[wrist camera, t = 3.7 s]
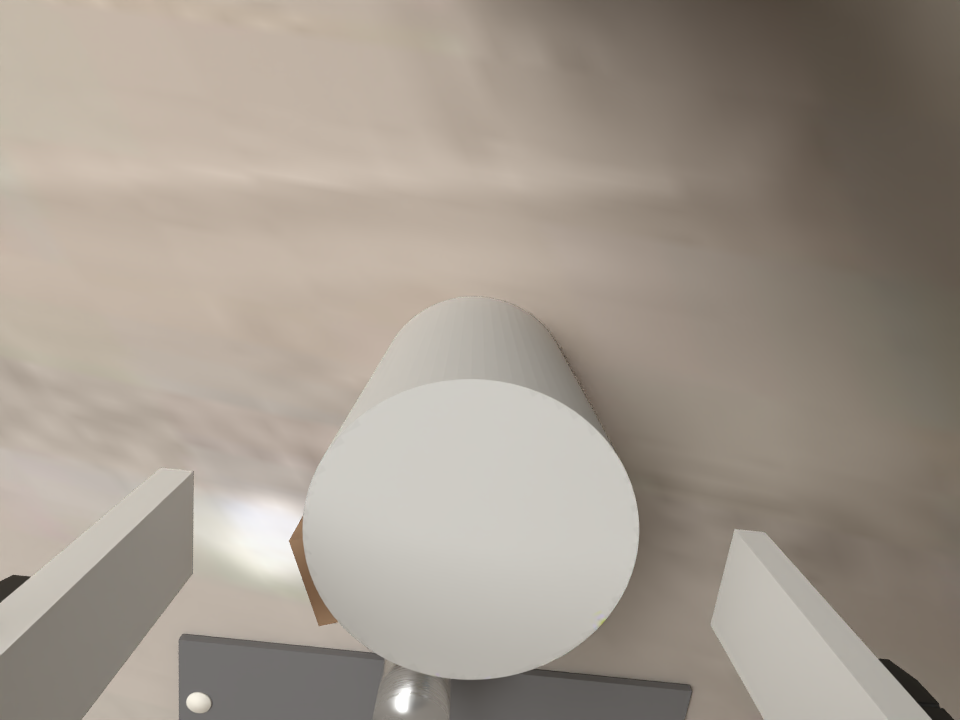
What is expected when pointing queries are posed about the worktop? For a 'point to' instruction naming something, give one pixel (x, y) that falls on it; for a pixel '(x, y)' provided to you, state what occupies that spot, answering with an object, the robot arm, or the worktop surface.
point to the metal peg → (411, 695)
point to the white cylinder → (471, 501)
